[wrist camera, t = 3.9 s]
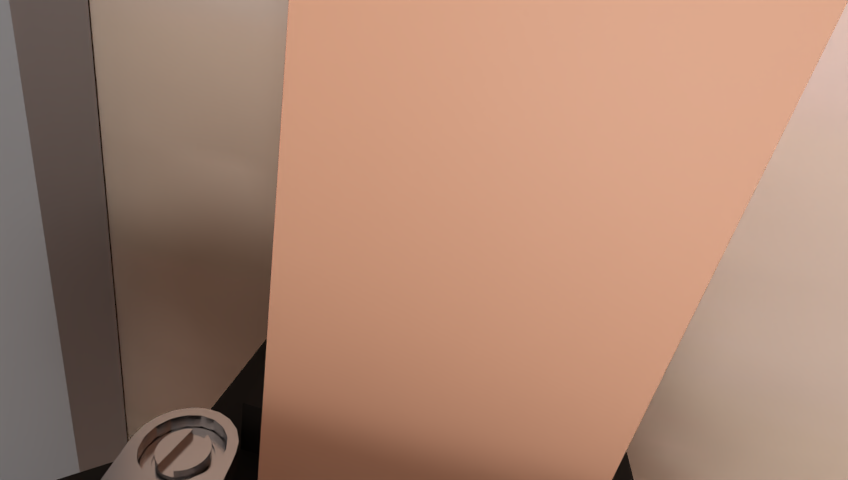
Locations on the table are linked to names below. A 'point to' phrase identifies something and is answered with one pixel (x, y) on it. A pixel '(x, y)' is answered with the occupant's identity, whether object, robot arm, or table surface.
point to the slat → (506, 222)
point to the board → (54, 251)
